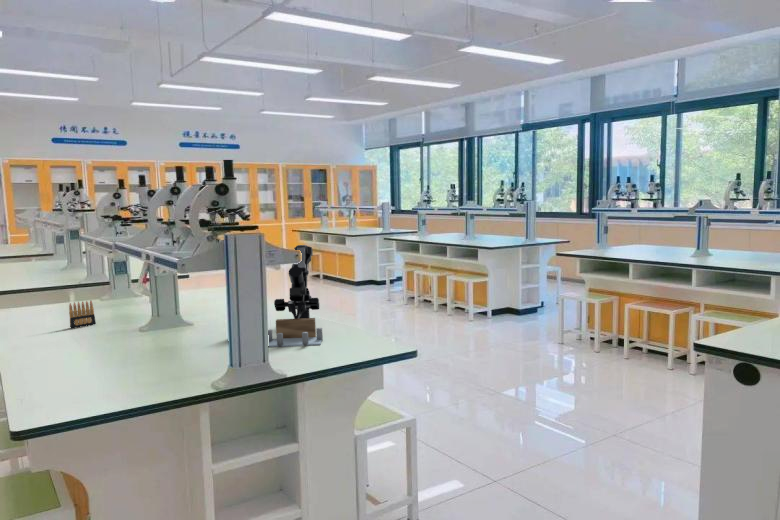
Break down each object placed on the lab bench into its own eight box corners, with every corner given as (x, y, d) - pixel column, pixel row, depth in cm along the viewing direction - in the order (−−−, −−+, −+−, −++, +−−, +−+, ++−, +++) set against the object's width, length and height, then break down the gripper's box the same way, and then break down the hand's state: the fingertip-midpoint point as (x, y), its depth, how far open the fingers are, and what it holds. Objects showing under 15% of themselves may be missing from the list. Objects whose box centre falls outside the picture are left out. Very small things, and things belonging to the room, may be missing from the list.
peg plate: (267, 340, 239) (267, 328, 238) (323, 338, 239) (322, 326, 239) (263, 347, 228) (262, 335, 228) (321, 345, 229) (320, 332, 229)
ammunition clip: (70, 328, 270) (68, 303, 268) (70, 328, 271) (67, 303, 269) (95, 324, 276) (93, 300, 275) (95, 324, 278) (92, 299, 276)
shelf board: (277, 337, 243) (276, 319, 242) (316, 336, 243) (315, 317, 242) (276, 339, 240) (275, 321, 239) (315, 338, 240) (314, 319, 239)
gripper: (273, 280, 245) (270, 311, 236) (317, 279, 246) (316, 310, 236) (277, 295, 254) (274, 325, 244) (319, 293, 255) (319, 324, 245)
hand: (296, 321), depth 242 cm, fingers closed, pressing on shelf board
